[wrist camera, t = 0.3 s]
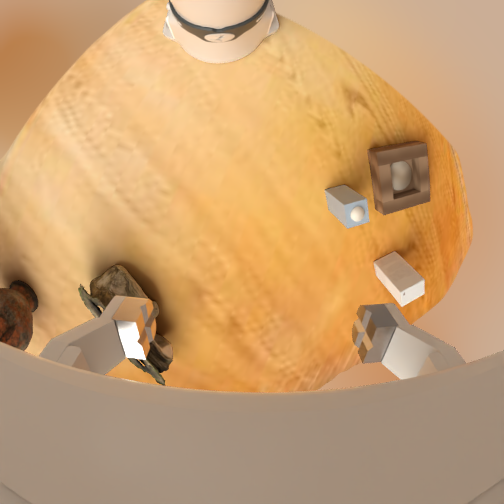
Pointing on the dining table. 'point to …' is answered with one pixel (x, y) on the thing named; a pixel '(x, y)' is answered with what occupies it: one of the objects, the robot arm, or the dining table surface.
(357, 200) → the post
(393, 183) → the socket block
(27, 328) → the brown vase
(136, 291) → the hollow geode rock
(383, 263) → the skincare box
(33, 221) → the dining table surface
